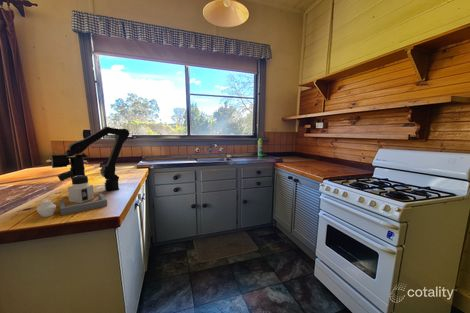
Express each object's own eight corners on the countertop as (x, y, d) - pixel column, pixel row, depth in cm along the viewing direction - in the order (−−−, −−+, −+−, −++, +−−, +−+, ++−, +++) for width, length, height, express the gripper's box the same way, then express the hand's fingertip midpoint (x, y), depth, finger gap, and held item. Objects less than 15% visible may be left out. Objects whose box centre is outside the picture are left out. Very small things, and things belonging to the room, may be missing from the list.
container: (94, 198, 105) (92, 175, 103) (78, 203, 98) (76, 178, 96) (84, 196, 107) (82, 173, 106) (68, 201, 100) (66, 177, 99)
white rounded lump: (60, 212, 87) (59, 197, 86) (48, 218, 81) (46, 202, 80) (46, 212, 87) (44, 197, 86) (32, 218, 81) (31, 202, 80)
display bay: (102, 198, 105) (101, 193, 105) (107, 205, 96) (106, 199, 95) (60, 206, 94) (59, 200, 94) (61, 215, 84) (60, 208, 84)
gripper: (57, 164, 109) (60, 191, 111) (57, 170, 95) (61, 200, 97) (82, 162, 116) (85, 188, 118) (86, 167, 102) (88, 196, 104)
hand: (80, 192), depth 109 cm, fingers closed
